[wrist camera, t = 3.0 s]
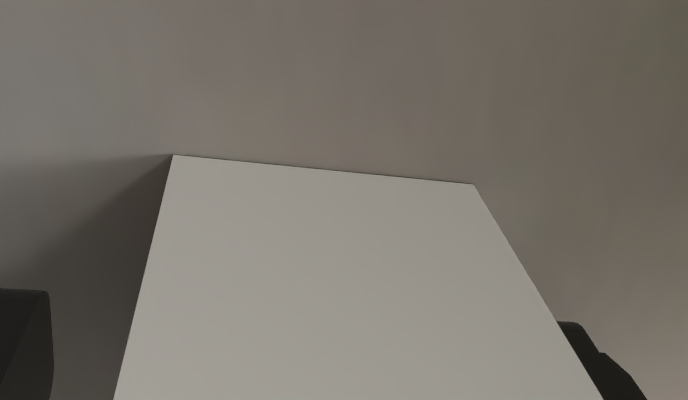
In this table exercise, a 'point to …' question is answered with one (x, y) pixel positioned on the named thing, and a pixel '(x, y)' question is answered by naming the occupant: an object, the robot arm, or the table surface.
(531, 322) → the off-white rectangular block
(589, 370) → the robot arm
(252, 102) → the table surface
